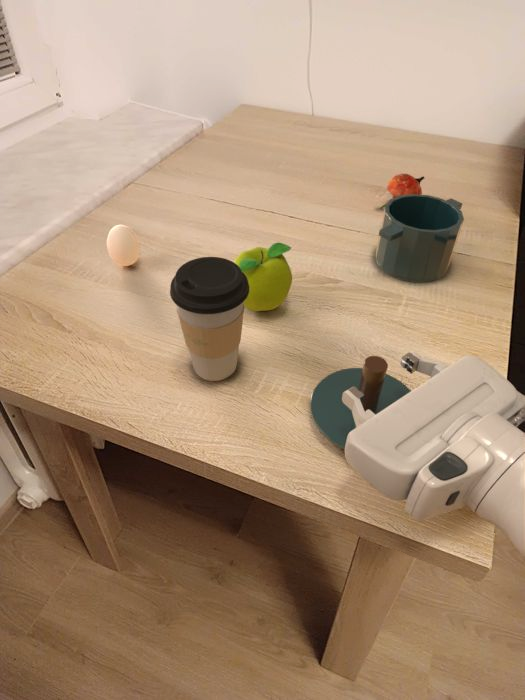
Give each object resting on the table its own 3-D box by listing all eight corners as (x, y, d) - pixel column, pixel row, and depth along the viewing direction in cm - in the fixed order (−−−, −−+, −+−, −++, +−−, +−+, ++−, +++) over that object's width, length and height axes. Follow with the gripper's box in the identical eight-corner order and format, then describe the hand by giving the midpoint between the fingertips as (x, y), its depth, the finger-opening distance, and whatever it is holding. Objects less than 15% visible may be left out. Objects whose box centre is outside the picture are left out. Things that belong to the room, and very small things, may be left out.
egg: (105, 265, 86) (95, 227, 81) (128, 252, 89) (120, 214, 84) (126, 276, 83) (117, 238, 78) (149, 262, 86) (142, 224, 81)
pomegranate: (390, 228, 100) (437, 200, 96) (372, 199, 96) (420, 169, 92) (385, 214, 106) (429, 187, 102) (368, 186, 102) (413, 157, 98)
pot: (472, 260, 88) (489, 211, 81) (404, 297, 80) (417, 246, 73) (417, 231, 95) (429, 183, 88) (349, 262, 87) (357, 212, 81)
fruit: (302, 310, 77) (306, 255, 71) (250, 331, 74) (250, 275, 67) (270, 280, 83) (271, 226, 76) (220, 298, 79) (217, 243, 72)
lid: (442, 419, 61) (462, 369, 55) (369, 480, 55) (383, 432, 49) (359, 359, 68) (370, 310, 62) (287, 407, 62) (290, 358, 56)
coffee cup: (168, 380, 67) (153, 289, 56) (199, 335, 73) (190, 246, 63) (234, 399, 64) (230, 308, 54) (259, 351, 71) (260, 262, 60)
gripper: (552, 389, 51) (443, 318, 59) (419, 496, 42) (312, 395, 50) (528, 426, 55) (430, 356, 63) (404, 531, 46) (307, 433, 54)
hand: (377, 374), depth 57 cm, fingers open, 8 cm apart
